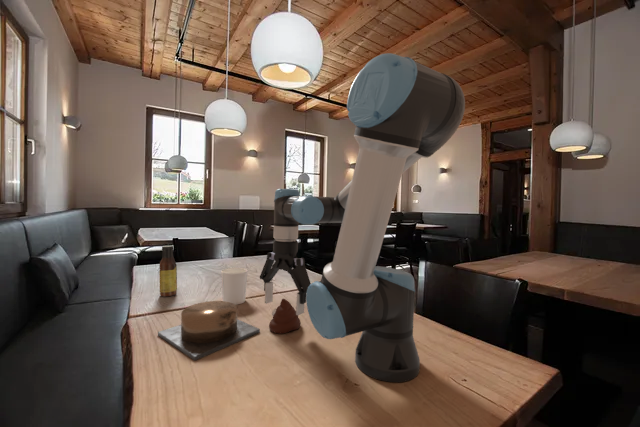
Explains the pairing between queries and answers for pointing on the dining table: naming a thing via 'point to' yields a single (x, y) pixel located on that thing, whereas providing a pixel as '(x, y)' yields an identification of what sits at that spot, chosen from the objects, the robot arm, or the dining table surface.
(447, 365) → the dining table surface
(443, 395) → the dining table surface
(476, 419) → the dining table surface
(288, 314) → the poop emoji
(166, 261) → the sauce bottle
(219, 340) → the post stand
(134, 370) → the dining table surface
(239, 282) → the candle holder
